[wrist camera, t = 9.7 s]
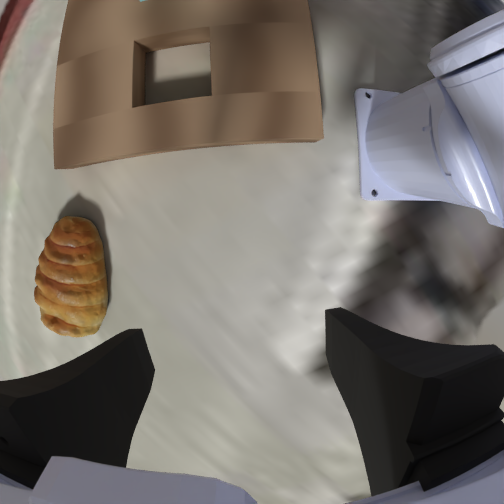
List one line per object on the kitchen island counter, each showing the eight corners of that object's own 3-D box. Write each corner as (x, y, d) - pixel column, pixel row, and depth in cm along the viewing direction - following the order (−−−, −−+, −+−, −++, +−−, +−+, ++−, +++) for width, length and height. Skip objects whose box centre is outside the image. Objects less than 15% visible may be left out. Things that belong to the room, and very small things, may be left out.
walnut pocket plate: (288, -61, 14) (290, -77, 11) (315, 142, 19) (323, 138, 16) (90, -27, 14) (79, -39, 12) (72, 168, 19) (54, 169, 17)
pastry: (53, 206, 20) (25, 213, 17) (121, 224, 21) (98, 235, 17) (49, 306, 23) (26, 324, 19) (110, 331, 23) (91, 354, 19)
